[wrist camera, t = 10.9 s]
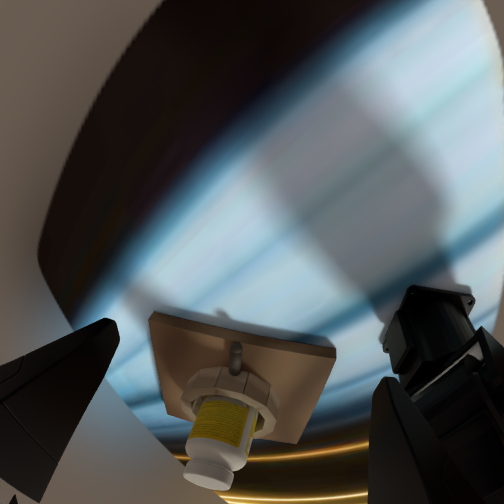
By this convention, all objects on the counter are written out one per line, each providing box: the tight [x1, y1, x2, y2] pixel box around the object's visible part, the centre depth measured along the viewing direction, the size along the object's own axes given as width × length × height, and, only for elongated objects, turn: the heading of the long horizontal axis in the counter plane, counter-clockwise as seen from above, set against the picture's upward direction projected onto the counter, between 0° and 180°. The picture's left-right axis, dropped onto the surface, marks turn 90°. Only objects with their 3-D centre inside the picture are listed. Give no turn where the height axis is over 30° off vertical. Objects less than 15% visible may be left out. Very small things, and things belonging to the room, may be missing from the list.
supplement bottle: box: [183, 395, 259, 491], centre depth 22 cm, size 5×5×10 cm
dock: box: [148, 311, 336, 444], centre depth 26 cm, size 16×16×4 cm
